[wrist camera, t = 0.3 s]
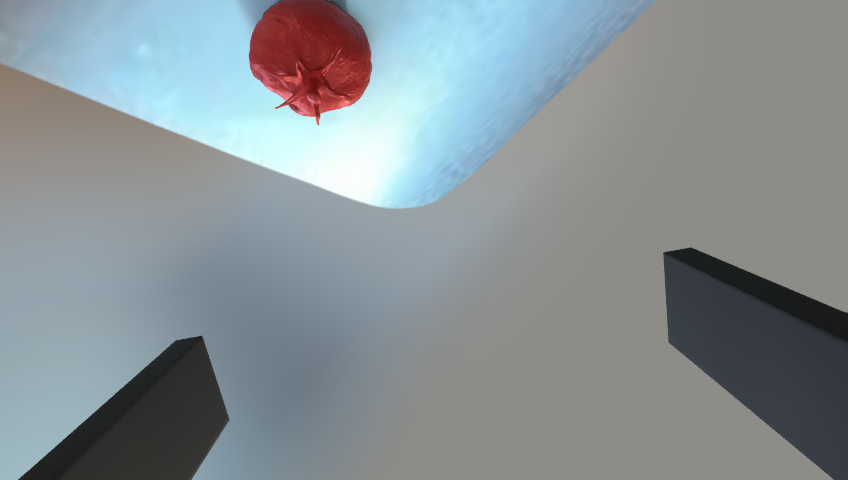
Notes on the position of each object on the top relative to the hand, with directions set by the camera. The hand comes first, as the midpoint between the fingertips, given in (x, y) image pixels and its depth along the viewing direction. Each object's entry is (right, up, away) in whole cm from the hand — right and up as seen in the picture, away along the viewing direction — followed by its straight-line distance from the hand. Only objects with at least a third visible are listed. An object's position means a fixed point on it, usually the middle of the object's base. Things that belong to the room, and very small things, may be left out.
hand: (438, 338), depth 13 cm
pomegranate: (-10, +21, +29) cm, 37 cm away
